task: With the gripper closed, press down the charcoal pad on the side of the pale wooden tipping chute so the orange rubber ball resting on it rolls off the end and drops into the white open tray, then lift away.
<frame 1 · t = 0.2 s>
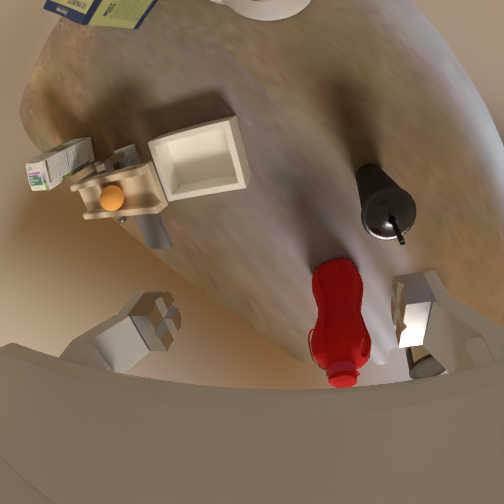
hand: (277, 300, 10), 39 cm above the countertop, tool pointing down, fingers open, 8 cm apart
ball: (111, 198, 40), point 13 cm above the countertop, tilted 8°, touching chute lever
pivot stand: (135, 172, 51), on the countertop
drinking cup: (369, 176, 45), on the countertop
syrup box: (84, 149, 50), on the countertop
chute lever: (129, 205, 46), point 8 cm above the countertop, hinge at -12.0°, touching ball
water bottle: (333, 276, 58), on the countertop
white open tray: (204, 154, 47), on the countertop
coffee can: (418, 322, 62), on the countertop
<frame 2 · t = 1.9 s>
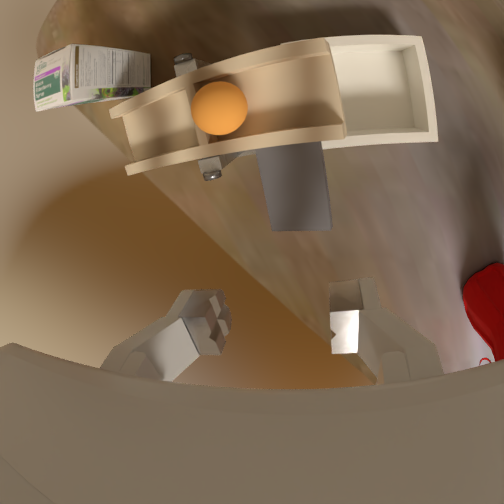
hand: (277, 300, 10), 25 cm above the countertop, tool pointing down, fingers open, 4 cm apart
ball: (219, 108, 18), point 13 cm above the countertop, tilted 8°, touching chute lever
pivot stand: (226, 110, 30), on the countertop
syrup box: (133, 76, 29), on the countertop
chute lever: (233, 147, 24), point 8 cm above the countertop, hinge at -12.0°, touching ball
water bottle: (479, 288, 34), on the countertop
white open tray: (357, 90, 26), on the countertop
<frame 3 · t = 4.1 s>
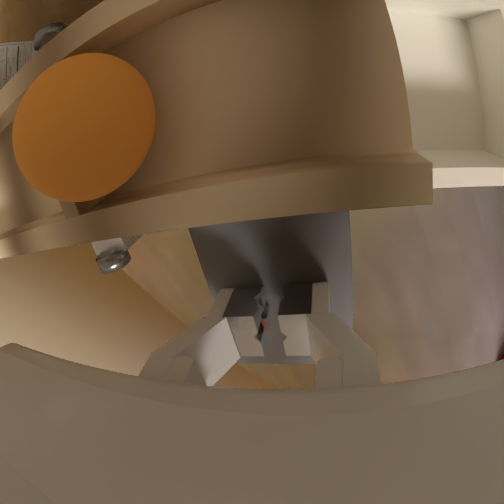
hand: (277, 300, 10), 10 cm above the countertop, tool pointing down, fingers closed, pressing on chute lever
ball: (82, 126, 6), point 12 cm above the countertop, touching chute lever
pivot stand: (165, 117, 17), on the countertop
syrup box: (46, 76, 16), on the countertop
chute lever: (146, 202, 12), point 8 cm above the countertop, hinge at -1.3°, touching ball, gripper
white open tray: (396, 78, 13), on the countertop
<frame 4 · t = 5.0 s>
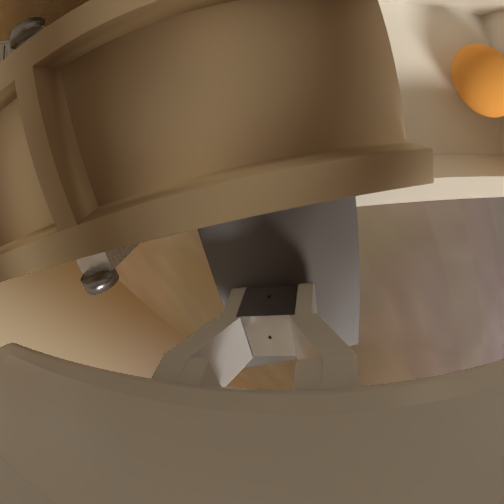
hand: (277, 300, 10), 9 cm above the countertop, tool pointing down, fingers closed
ball: (485, 80, 8), point 3 cm above the countertop, tilted 102°, touching white open tray
pivot stand: (158, 118, 16), on the countertop
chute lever: (132, 213, 11), point 7 cm above the countertop, hinge at 13.3°, touching gripper
white open tray: (410, 76, 12), on the countertop
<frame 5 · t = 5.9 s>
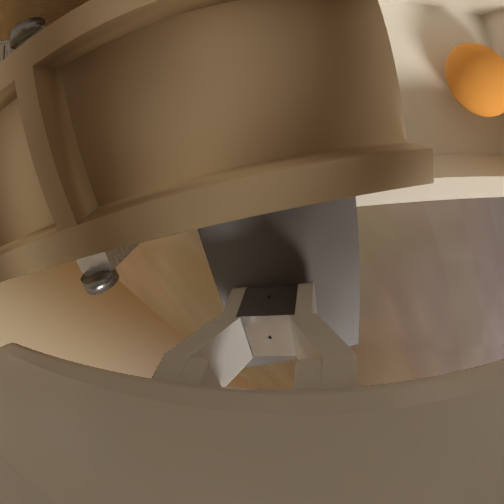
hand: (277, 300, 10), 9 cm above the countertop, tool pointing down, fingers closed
ball: (480, 79, 9), point 3 cm above the countertop, tilted 91°, touching white open tray
pivot stand: (158, 118, 16), on the countertop
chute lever: (132, 213, 11), point 7 cm above the countertop, hinge at 13.3°, touching gripper
white open tray: (410, 76, 12), on the countertop
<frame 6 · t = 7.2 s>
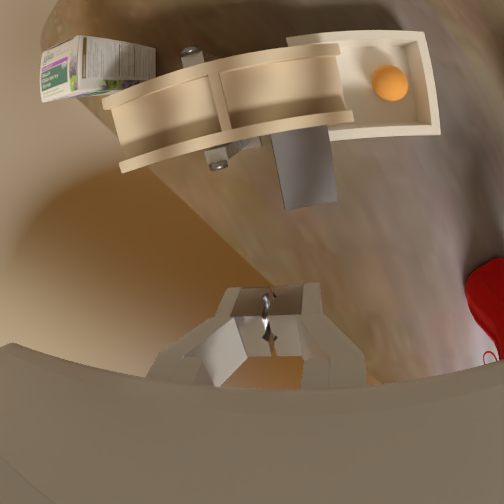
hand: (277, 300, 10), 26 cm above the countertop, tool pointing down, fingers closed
ball: (389, 82, 23), point 3 cm above the countertop, tilted 75°, touching white open tray
pivot stand: (231, 104, 30), on the countertop
syrup box: (138, 70, 29), on the countertop
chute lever: (236, 138, 25), point 7 cm above the countertop, hinge at 13.1°
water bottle: (482, 283, 34), on the countertop
white open tray: (361, 84, 26), on the countertop
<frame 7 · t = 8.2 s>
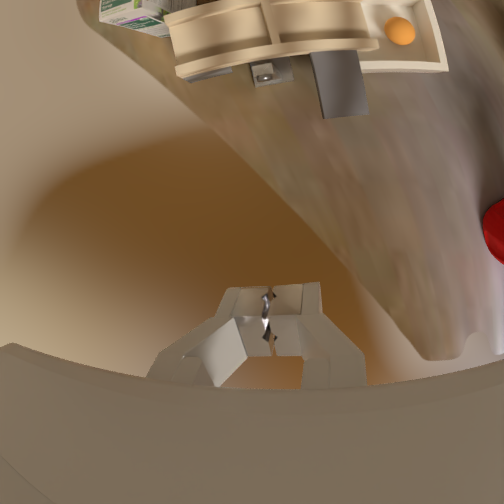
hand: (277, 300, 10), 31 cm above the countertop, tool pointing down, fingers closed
ball: (399, 30, 23), point 3 cm above the countertop, tilted 62°, touching white open tray
pivot stand: (266, 45, 30), on the countertop
syrup box: (179, 18, 29), on the countertop
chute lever: (278, 60, 25), point 7 cm above the countertop, hinge at 13.1°
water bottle: (497, 224, 34), on the countertop
white open tray: (378, 34, 26), on the countertop
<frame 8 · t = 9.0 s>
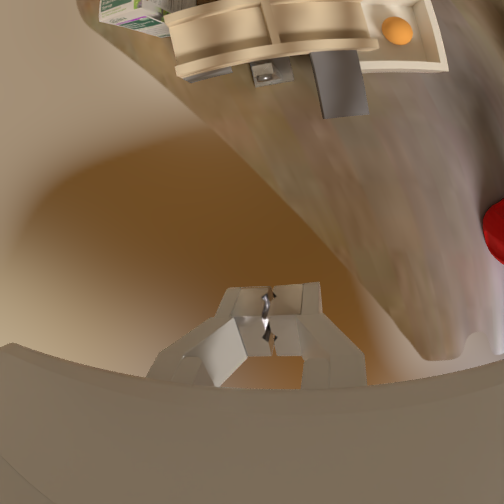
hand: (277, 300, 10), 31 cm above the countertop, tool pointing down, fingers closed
ball: (397, 30, 23), point 3 cm above the countertop, tilted 52°, touching white open tray
pivot stand: (266, 45, 30), on the countertop
syrup box: (179, 18, 29), on the countertop
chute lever: (278, 60, 25), point 7 cm above the countertop, hinge at 13.1°
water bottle: (497, 224, 34), on the countertop
white open tray: (378, 34, 26), on the countertop
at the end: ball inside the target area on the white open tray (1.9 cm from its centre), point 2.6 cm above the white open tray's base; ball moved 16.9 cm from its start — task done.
